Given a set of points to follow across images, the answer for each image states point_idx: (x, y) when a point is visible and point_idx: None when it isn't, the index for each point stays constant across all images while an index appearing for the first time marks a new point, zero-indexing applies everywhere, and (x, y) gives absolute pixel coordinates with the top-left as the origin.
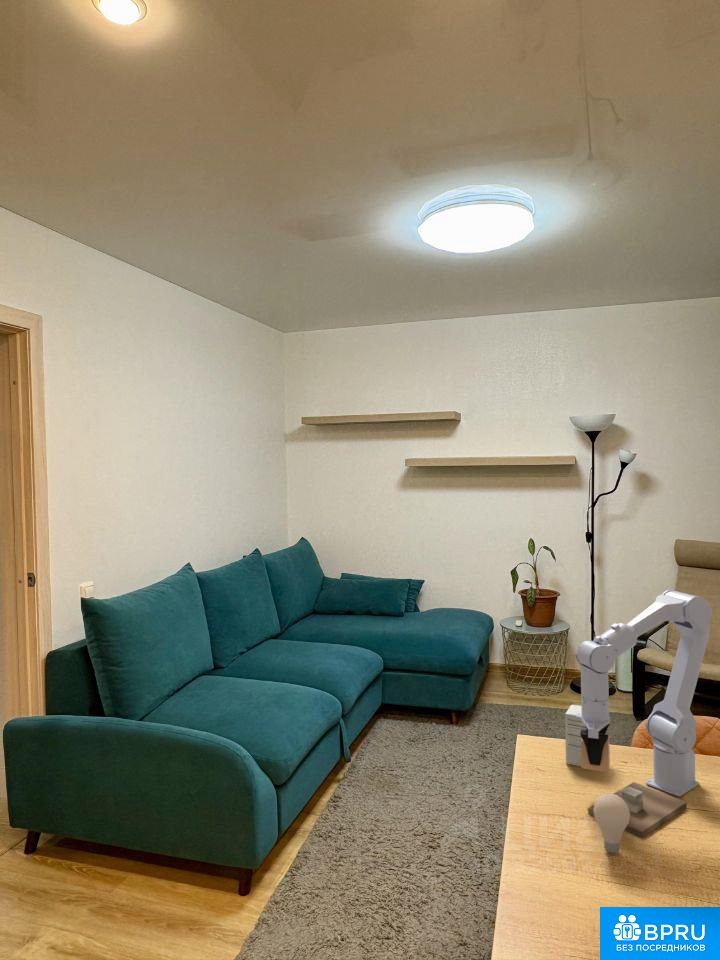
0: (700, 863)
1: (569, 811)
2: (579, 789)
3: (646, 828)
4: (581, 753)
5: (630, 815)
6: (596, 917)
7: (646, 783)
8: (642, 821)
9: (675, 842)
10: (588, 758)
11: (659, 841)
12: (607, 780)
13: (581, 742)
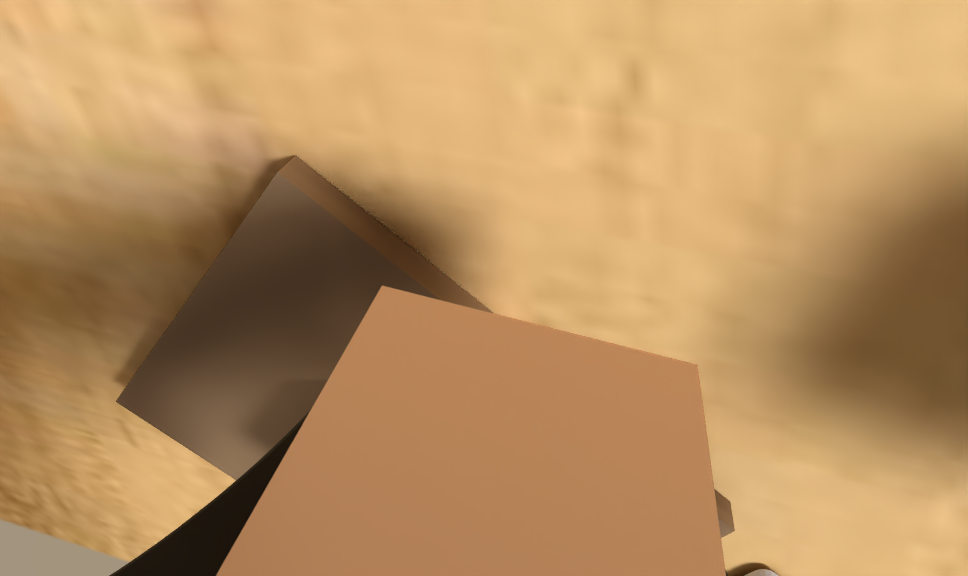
0: (48, 512)
1: (285, 13)
2: (690, 156)
3: (159, 429)
4: (308, 414)
5: (270, 397)
6: None
7: (758, 573)
8: (225, 433)
9: (164, 489)
10: (277, 446)
11: (141, 437)
12: (850, 388)
13: (228, 569)
